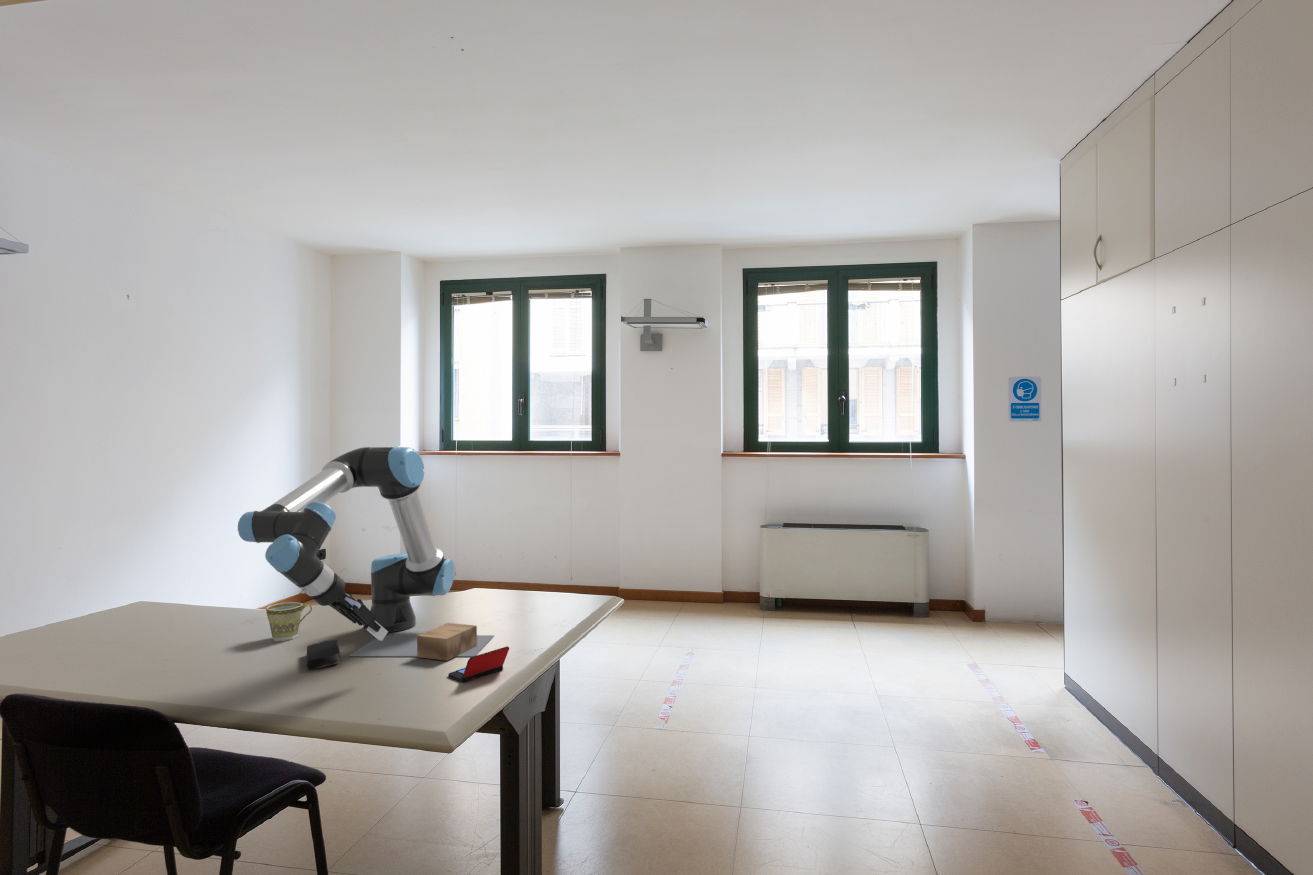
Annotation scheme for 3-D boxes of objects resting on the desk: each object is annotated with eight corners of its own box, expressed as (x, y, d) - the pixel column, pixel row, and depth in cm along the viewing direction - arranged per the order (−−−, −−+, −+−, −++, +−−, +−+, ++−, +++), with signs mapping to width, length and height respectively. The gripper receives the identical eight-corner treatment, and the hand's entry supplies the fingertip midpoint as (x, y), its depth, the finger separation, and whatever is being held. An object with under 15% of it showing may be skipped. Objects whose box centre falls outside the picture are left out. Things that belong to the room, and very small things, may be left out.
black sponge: (341, 667, 196) (340, 653, 196) (306, 672, 192) (306, 658, 192) (338, 651, 211) (337, 638, 211) (306, 655, 207) (305, 642, 207)
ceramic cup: (271, 645, 216) (270, 611, 216) (263, 638, 224) (262, 606, 224) (317, 636, 225) (316, 604, 225) (307, 629, 232) (307, 598, 232)
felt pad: (379, 636, 224) (379, 635, 224) (494, 636, 222) (494, 635, 222) (349, 656, 204) (349, 655, 204) (474, 657, 202) (474, 656, 202)
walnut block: (417, 657, 202) (448, 642, 215) (447, 660, 198) (476, 645, 212) (416, 635, 202) (448, 622, 215) (446, 638, 198) (476, 625, 211)
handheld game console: (487, 665, 196) (486, 638, 196) (511, 673, 189) (510, 645, 189) (446, 677, 187) (445, 649, 186) (470, 687, 179) (469, 657, 179)
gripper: (296, 594, 175) (359, 644, 189) (328, 601, 168) (391, 652, 182) (316, 568, 179) (376, 619, 193) (348, 574, 172) (408, 626, 186)
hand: (383, 635), depth 188 cm, fingers closed
